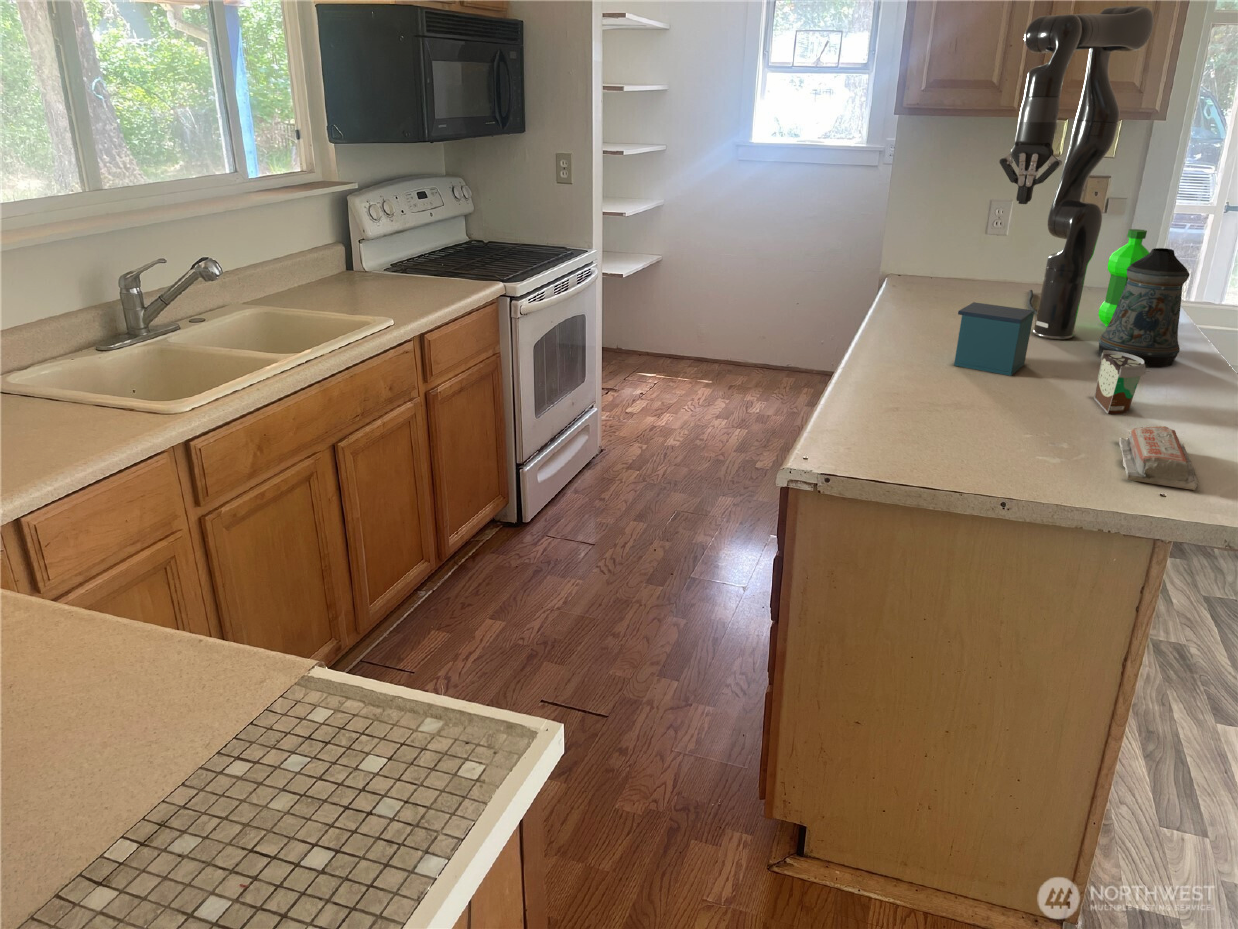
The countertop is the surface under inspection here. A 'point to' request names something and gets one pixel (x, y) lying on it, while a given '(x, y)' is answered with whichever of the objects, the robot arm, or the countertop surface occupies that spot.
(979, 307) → the cool box lid
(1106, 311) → the plastic bottle
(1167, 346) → the beer stein
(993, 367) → the cool box
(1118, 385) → the food container
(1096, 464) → the countertop surface
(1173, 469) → the packaged product
